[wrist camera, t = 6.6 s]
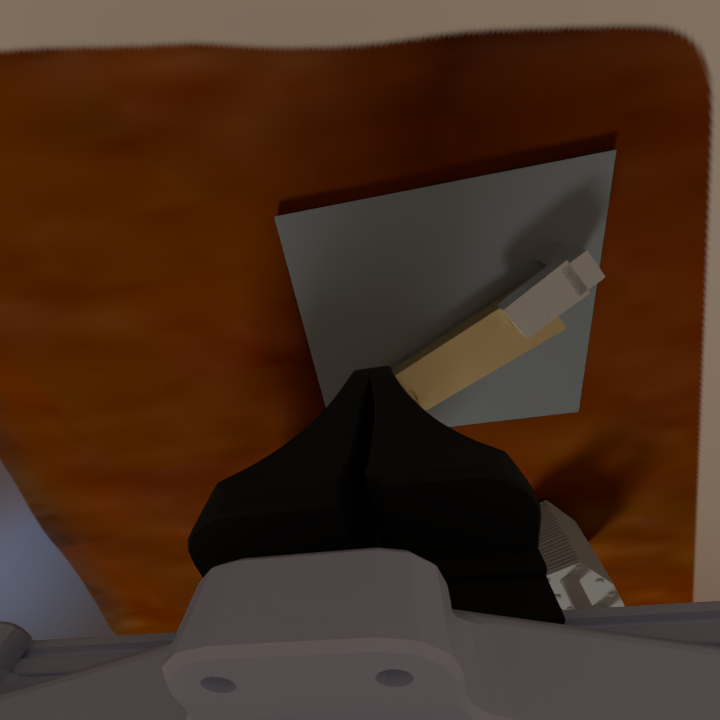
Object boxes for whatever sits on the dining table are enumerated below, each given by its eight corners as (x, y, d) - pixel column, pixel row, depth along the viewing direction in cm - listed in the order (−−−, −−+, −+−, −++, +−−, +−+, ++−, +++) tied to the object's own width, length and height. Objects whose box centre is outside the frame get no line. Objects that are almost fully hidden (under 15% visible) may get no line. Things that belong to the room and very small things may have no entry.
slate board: (573, 405, 21) (578, 411, 21) (335, 434, 23) (334, 440, 22) (607, 150, 15) (616, 149, 14) (277, 215, 17) (274, 216, 16)
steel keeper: (508, 320, 18) (527, 339, 16) (486, 295, 18) (502, 310, 15) (576, 268, 17) (607, 280, 15) (555, 238, 16) (584, 246, 14)
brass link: (381, 430, 21) (382, 441, 21) (346, 393, 20) (344, 402, 19) (558, 325, 18) (568, 333, 17) (528, 272, 17) (537, 277, 16)
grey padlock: (503, 516, 26) (571, 685, 17) (551, 493, 25) (651, 663, 16) (547, 559, 28) (627, 728, 20) (593, 540, 27) (701, 712, 18)
